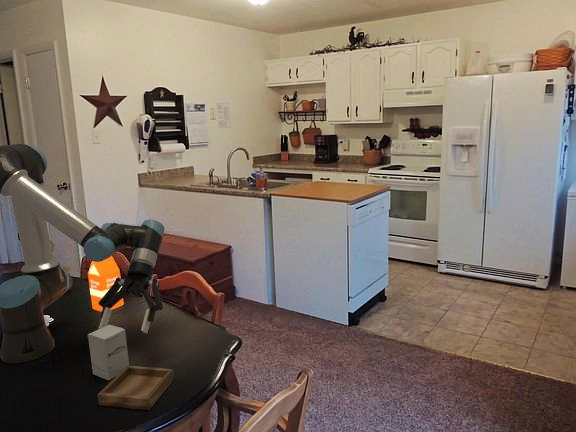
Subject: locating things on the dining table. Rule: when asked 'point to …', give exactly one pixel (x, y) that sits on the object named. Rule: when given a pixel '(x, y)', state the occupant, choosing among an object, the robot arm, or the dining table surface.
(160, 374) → the tray
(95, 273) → the orange juice
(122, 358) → the supplement box
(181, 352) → the dining table surface
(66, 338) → the dining table surface
